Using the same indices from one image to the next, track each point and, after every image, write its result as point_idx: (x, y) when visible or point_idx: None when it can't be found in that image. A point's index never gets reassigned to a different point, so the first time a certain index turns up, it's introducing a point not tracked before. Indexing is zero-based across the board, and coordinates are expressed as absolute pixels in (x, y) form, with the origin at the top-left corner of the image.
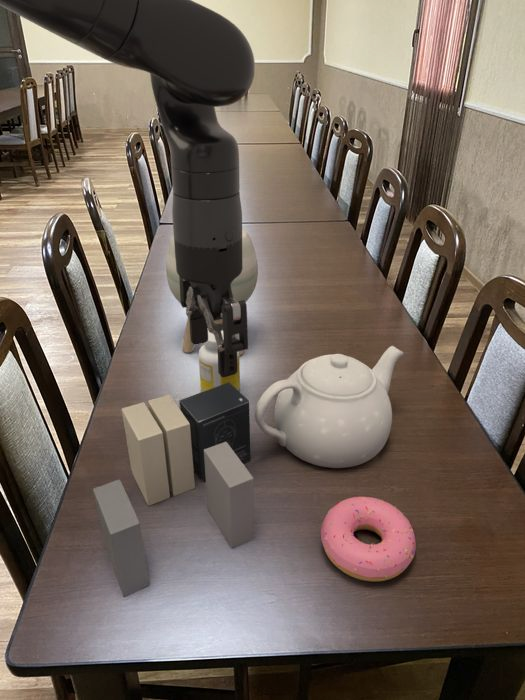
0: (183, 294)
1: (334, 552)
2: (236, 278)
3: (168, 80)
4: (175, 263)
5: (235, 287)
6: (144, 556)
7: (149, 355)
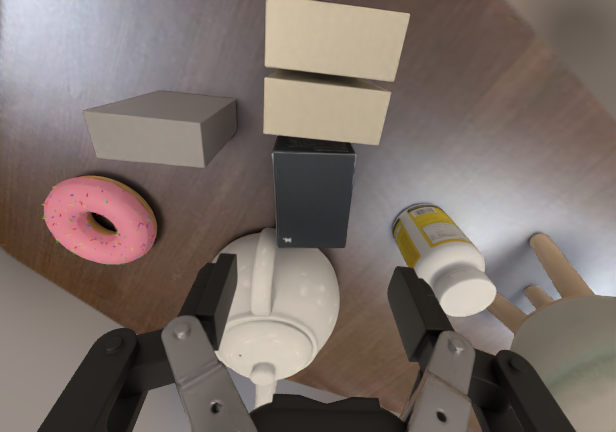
0: (529, 418)
1: (77, 183)
2: None
3: None
4: None
5: None
6: None
7: (585, 190)
